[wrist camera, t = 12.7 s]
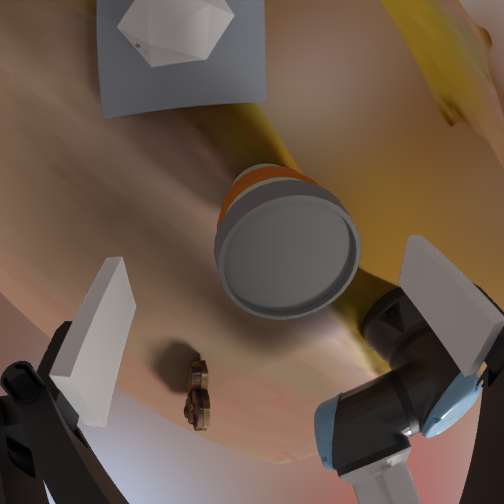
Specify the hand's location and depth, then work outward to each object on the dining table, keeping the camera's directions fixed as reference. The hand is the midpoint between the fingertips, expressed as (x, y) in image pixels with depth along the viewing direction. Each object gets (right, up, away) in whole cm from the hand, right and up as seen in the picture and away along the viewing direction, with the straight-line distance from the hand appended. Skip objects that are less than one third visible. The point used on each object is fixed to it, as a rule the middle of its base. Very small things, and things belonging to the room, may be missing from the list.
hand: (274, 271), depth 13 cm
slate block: (-8, +24, +14) cm, 29 cm away
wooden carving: (-11, -23, +41) cm, 48 cm away
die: (-7, +22, +9) cm, 24 cm away
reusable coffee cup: (+1, +8, +25) cm, 26 cm away
